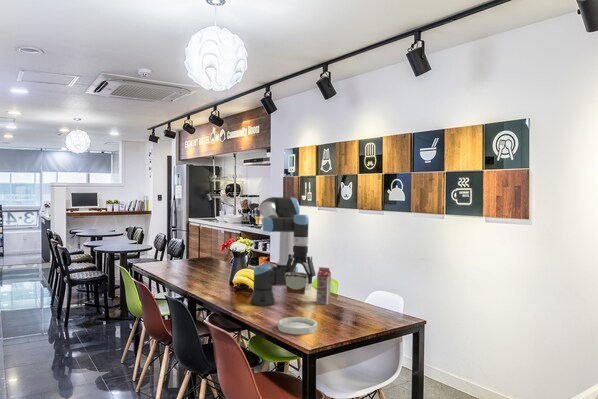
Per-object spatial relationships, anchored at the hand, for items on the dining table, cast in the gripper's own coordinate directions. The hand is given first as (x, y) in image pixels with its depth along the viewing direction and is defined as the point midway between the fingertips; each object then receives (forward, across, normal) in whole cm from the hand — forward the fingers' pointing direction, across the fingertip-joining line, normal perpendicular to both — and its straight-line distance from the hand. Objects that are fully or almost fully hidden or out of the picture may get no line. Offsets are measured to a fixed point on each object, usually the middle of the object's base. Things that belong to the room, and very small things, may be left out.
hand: (299, 288), depth 217 cm
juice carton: (+18, -20, +48) cm, 55 cm away
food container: (+3, -1, 0) cm, 3 cm away
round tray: (+19, +2, -4) cm, 20 cm away
